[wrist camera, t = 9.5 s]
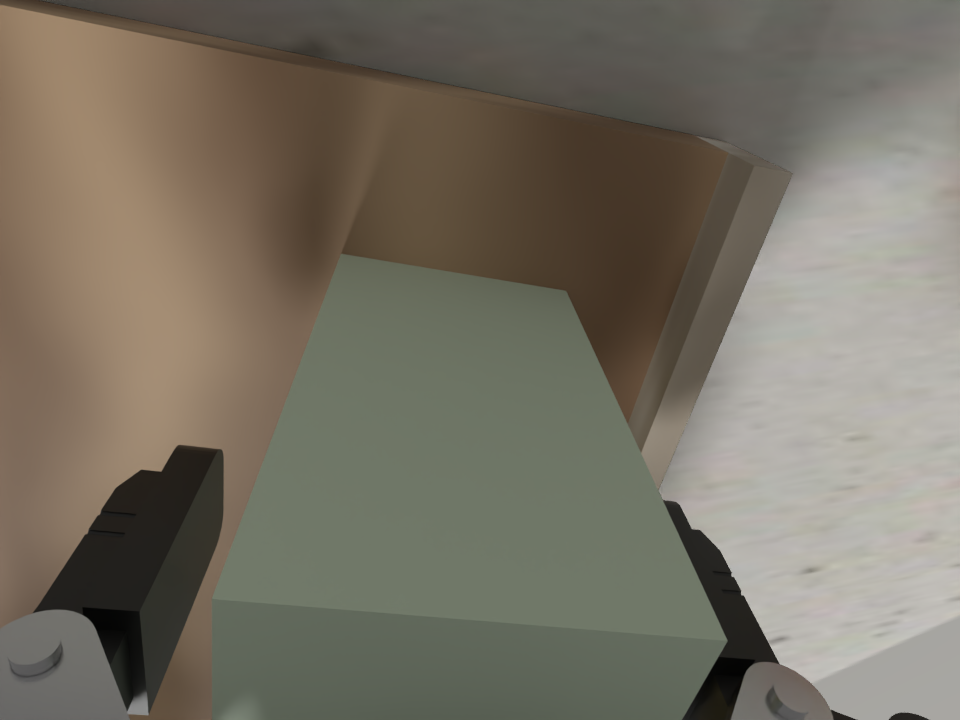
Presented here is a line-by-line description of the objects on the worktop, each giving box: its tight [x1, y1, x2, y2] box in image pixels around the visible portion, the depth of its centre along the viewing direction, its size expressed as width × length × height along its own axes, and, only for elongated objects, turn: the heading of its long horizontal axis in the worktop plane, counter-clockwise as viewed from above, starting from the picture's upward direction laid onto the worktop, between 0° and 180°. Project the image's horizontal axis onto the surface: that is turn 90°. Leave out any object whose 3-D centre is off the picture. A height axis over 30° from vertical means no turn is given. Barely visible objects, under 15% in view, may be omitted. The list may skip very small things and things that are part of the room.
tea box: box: [212, 254, 727, 720], centre depth 12 cm, size 5×7×9 cm
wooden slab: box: [0, 0, 793, 720], centre depth 17 cm, size 19×22×3 cm
